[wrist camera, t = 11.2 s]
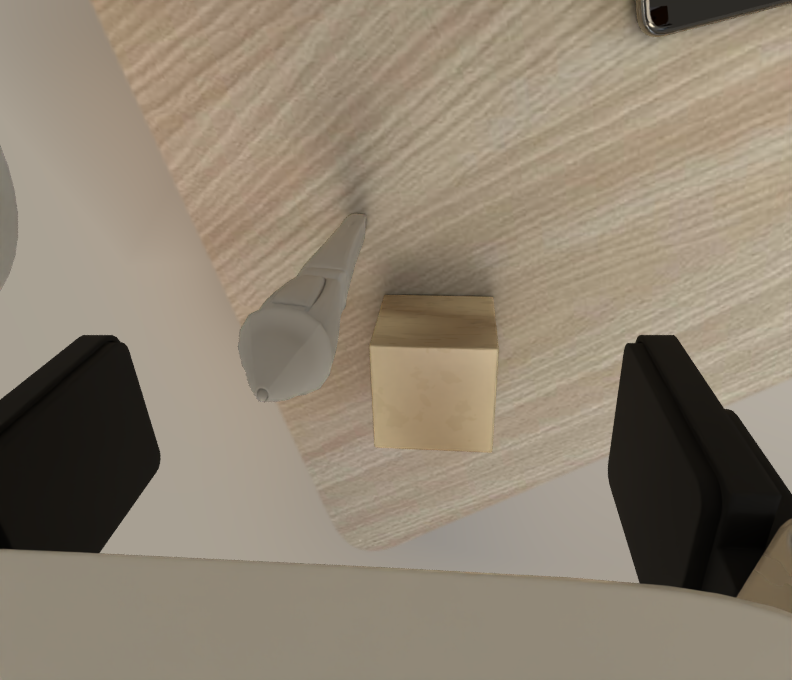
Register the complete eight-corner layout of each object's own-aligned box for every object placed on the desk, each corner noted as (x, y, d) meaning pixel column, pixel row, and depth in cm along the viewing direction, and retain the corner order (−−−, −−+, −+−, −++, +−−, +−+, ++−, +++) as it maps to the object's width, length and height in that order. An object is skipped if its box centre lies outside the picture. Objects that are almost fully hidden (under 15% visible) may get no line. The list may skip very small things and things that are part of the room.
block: (387, 385, 30) (374, 448, 25) (384, 294, 27) (368, 345, 23) (487, 388, 29) (492, 453, 25) (493, 295, 27) (499, 348, 22)
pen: (328, 247, 26) (210, 439, 14) (329, 187, 25) (201, 341, 13) (384, 252, 26) (313, 451, 14) (388, 193, 25) (314, 354, 13)
